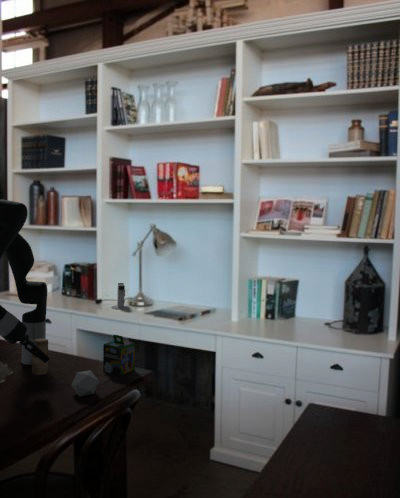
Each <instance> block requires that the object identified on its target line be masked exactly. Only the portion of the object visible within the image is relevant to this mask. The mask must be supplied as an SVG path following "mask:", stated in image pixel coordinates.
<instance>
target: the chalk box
mask: <svg viewBox="0 0 400 498" xmlns="http://www.w3.org/2000/svg"><path fill="white" fill-rule="evenodd" d="M112 338H113V340H111V341H108V342H106V343H104V344H103V345H102V347H103V349H102V350H103V355H102V358H103V359H102V360H103V361H102V362H103V363H102V366H103V368H102V371H103V373H107V374H111V375H113V376H118V377H122V376H124V375H126V374H129V373H131V372H133V371H135V370H136V367H135V366H136V364H135V363H136V362H135V361H136V360H135V358H136V357H135V356H136V352H135V351H136V350H135V349H136V344H135V343H136V342H133V341H129V340H124V337H123V336H122V335H118V334H113V337H112Z"/></svg>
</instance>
